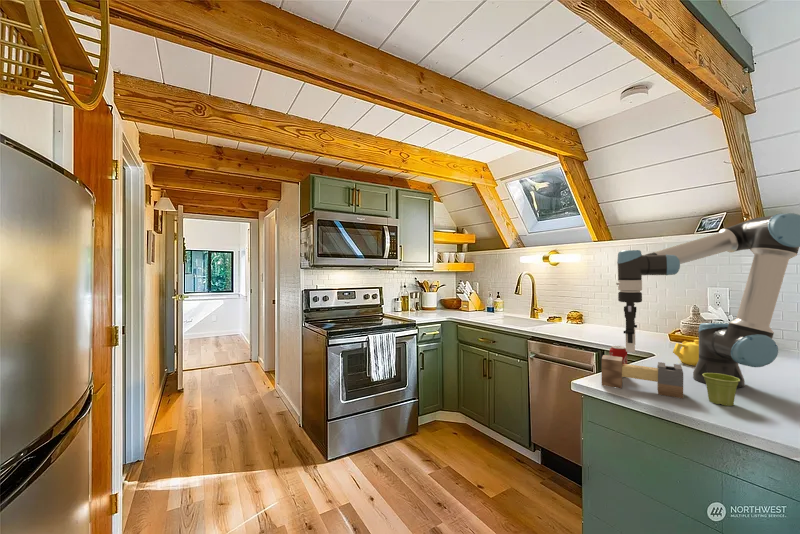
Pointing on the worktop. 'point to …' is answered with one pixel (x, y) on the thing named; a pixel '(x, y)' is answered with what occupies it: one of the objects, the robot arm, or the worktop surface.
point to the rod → (640, 372)
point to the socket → (612, 371)
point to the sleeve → (670, 380)
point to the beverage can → (619, 353)
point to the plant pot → (721, 388)
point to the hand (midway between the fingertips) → (630, 348)
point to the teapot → (688, 352)
